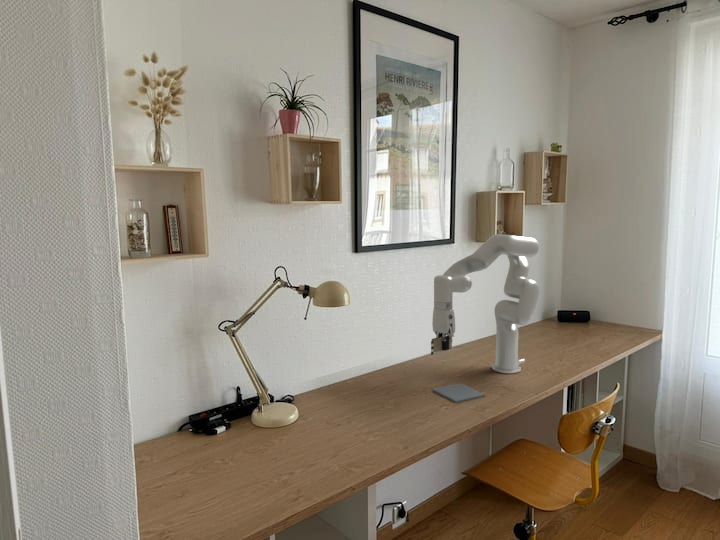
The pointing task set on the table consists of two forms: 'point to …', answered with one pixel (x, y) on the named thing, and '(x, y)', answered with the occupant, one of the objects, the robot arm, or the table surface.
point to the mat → (458, 392)
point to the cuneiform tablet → (438, 344)
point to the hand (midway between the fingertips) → (443, 348)
